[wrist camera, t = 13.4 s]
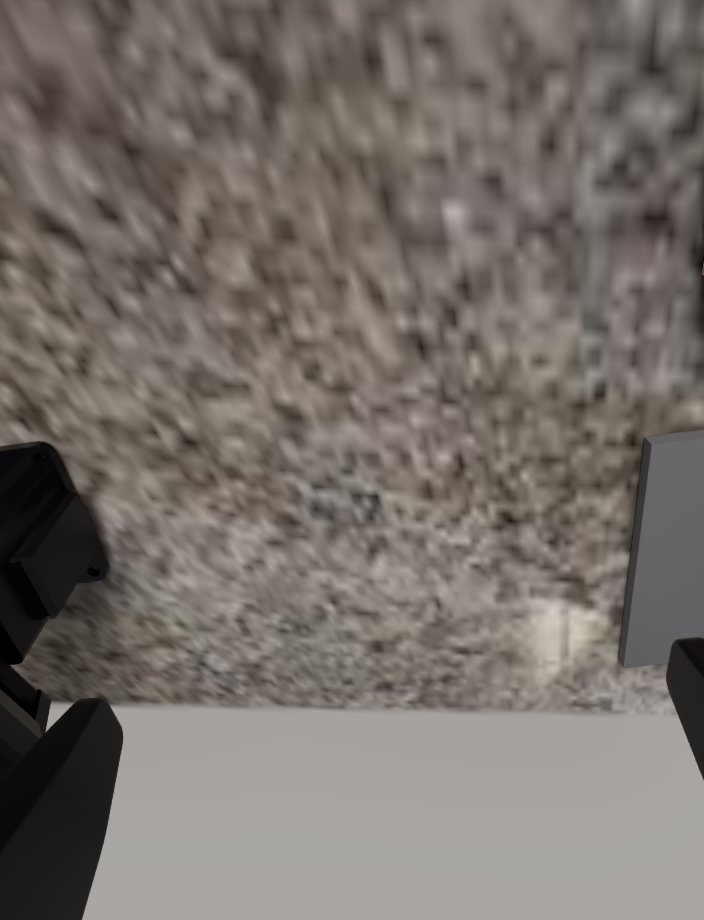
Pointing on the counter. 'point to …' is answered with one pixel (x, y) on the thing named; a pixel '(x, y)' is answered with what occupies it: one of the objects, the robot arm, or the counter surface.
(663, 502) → the dark grey flat plate
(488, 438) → the counter surface
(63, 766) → the robot arm
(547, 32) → the counter surface
